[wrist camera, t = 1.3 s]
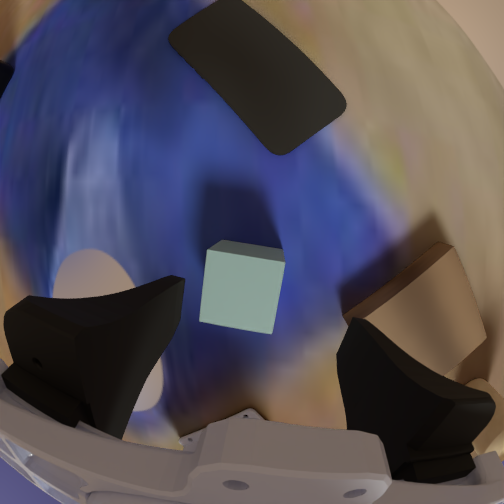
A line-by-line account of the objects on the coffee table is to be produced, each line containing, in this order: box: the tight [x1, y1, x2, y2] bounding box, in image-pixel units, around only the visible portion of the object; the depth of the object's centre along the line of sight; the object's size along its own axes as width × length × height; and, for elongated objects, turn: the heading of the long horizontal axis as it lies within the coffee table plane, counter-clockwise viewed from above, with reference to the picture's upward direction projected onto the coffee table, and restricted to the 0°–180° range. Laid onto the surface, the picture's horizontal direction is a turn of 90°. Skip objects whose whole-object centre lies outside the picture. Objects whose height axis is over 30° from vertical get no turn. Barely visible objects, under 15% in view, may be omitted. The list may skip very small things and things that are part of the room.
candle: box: [465, 378, 504, 462], centre depth 17 cm, size 6×6×10 cm
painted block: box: [199, 240, 285, 334], centre depth 20 cm, size 4×4×5 cm
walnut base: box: [342, 242, 487, 376], centre depth 21 cm, size 10×10×3 cm
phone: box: [168, 0, 346, 155], centre depth 19 cm, size 7×1×15 cm
